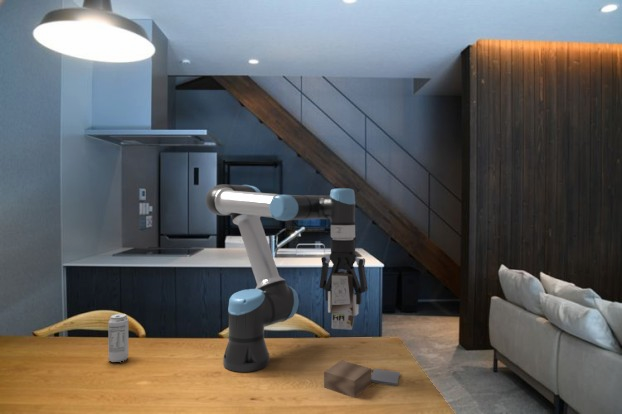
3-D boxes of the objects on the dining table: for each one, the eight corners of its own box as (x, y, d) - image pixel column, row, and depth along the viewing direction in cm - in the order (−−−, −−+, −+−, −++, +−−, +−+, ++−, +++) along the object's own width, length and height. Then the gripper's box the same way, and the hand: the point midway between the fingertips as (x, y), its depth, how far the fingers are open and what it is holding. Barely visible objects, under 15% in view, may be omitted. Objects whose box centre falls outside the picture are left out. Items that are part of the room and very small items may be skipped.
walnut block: (324, 388, 114) (324, 371, 114) (342, 376, 122) (342, 360, 122) (354, 398, 108) (354, 380, 108) (371, 385, 117) (371, 368, 116)
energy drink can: (131, 356, 136) (131, 313, 136) (123, 363, 130) (123, 318, 130) (113, 356, 136) (113, 313, 136) (105, 363, 130) (104, 318, 130)
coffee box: (352, 330, 117) (352, 275, 117) (331, 329, 118) (330, 274, 118) (354, 321, 126) (354, 270, 126) (334, 320, 127) (334, 269, 127)
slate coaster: (369, 382, 118) (369, 379, 118) (374, 371, 126) (374, 368, 126) (397, 386, 115) (397, 383, 115) (399, 374, 123) (399, 372, 123)
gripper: (307, 238, 123) (308, 312, 123) (371, 241, 114) (371, 320, 114) (318, 236, 129) (318, 306, 130) (378, 238, 120) (379, 314, 121)
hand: (343, 313), depth 122 cm, fingers closed on coffee box, 7 cm apart
